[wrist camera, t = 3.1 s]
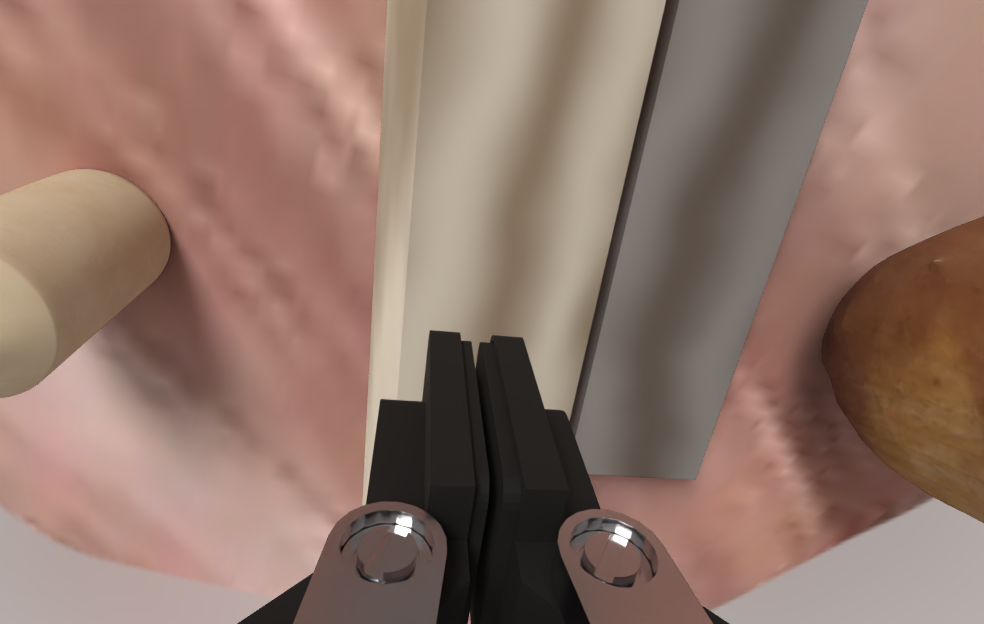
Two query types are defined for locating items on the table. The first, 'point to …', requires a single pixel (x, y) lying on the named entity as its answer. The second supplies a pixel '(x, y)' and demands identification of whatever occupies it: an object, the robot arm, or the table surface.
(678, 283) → the floor board
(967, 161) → the table surface
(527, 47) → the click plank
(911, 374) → the butternut squash
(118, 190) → the candle
